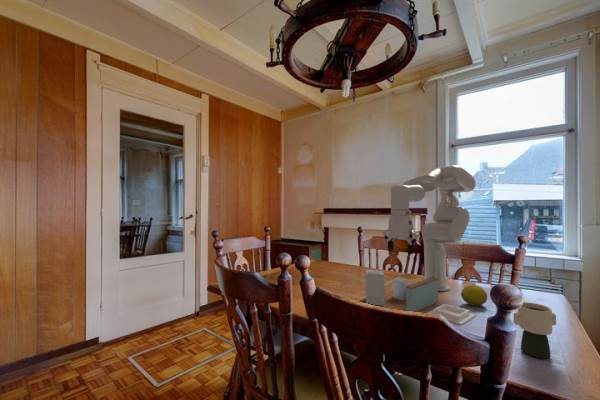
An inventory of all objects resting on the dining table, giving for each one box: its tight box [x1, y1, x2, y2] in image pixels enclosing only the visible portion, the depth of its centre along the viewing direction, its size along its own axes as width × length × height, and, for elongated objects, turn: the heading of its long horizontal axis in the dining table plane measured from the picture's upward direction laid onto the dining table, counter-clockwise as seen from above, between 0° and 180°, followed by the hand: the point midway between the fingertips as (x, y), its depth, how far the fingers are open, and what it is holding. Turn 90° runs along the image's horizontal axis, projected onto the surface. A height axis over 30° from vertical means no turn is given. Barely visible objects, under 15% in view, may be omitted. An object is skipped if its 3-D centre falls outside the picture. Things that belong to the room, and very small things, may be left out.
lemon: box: [460, 284, 488, 307], centre depth 111 cm, size 11×8×8 cm
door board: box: [406, 277, 439, 313], centre depth 110 cm, size 20×2×10 cm, turn 127°
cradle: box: [427, 303, 477, 326], centre depth 101 cm, size 12×12×2 cm
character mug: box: [513, 301, 557, 359], centre depth 75 cm, size 11×7×13 cm, turn 87°
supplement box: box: [365, 269, 386, 306], centre depth 115 cm, size 7×7×13 cm
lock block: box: [392, 277, 411, 301], centre depth 120 cm, size 5×5×8 cm
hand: (400, 252), depth 120 cm, fingers open, 9 cm apart
